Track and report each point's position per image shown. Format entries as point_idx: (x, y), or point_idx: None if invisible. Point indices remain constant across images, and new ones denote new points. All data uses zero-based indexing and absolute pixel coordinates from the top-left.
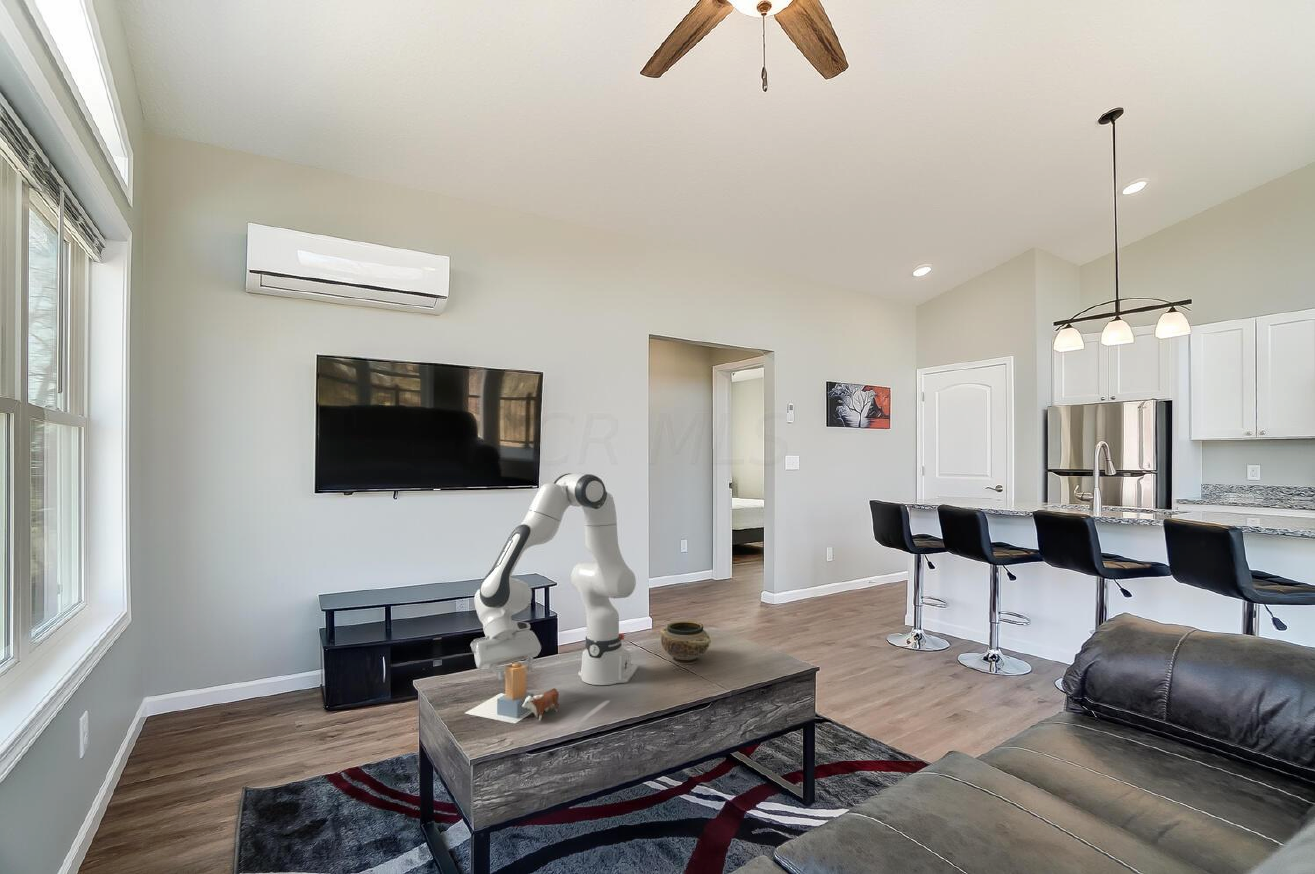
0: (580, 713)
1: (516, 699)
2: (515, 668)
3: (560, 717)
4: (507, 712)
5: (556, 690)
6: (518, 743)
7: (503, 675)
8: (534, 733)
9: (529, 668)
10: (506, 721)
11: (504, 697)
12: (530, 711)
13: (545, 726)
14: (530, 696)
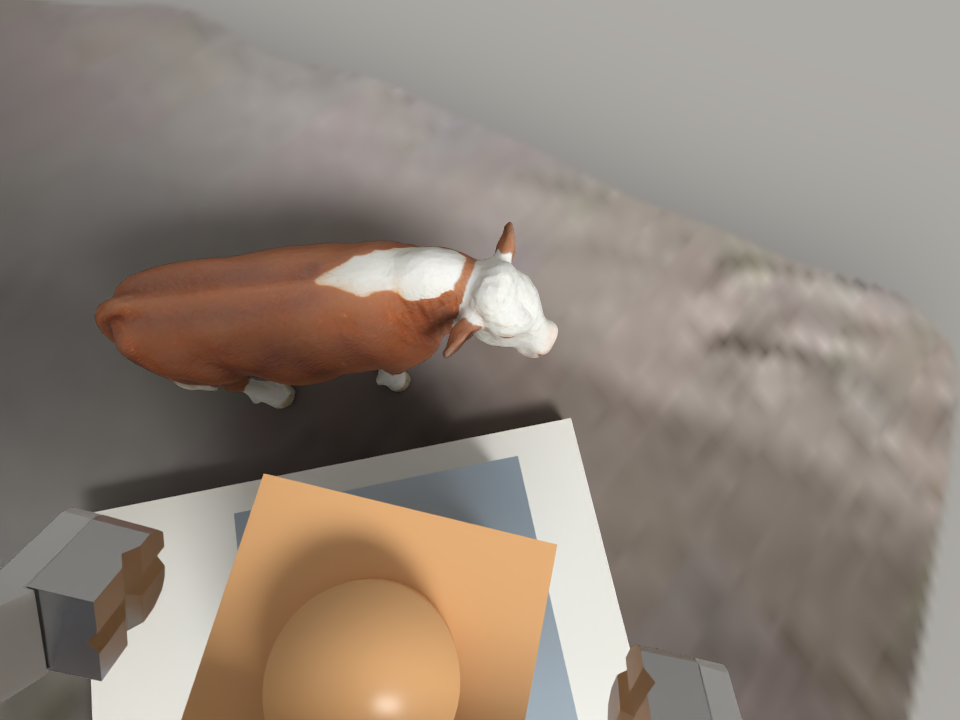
0: (126, 209)
1: None
2: (467, 567)
3: None
4: None
5: (119, 289)
6: (701, 233)
7: (666, 656)
8: (549, 249)
9: (149, 530)
10: (587, 500)
11: None
12: (337, 490)
13: None
14: (498, 270)
